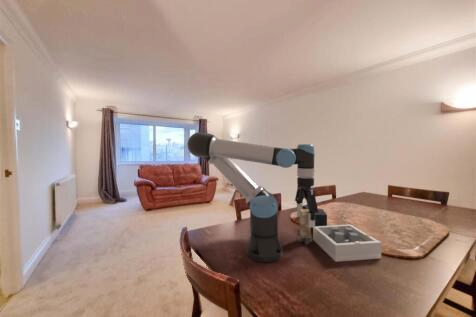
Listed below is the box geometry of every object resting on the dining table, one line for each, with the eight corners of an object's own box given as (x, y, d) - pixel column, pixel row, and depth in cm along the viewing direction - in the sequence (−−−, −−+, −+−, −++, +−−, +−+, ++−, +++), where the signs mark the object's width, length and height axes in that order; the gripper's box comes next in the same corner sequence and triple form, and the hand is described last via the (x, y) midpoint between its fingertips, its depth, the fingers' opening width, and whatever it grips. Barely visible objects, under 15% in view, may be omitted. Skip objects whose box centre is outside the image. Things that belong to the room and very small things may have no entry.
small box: (327, 235, 102) (327, 214, 101) (314, 234, 103) (314, 214, 103) (323, 227, 112) (323, 208, 112) (311, 226, 114) (311, 208, 113)
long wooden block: (300, 244, 93) (300, 212, 92) (297, 238, 99) (296, 208, 98) (313, 243, 93) (313, 212, 92) (309, 238, 99) (309, 208, 98)
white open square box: (335, 261, 78) (335, 244, 78) (313, 239, 97) (313, 225, 97) (381, 258, 80) (381, 241, 79) (350, 237, 99) (350, 223, 98)
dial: (369, 251, 81) (370, 238, 80) (332, 249, 83) (332, 236, 83) (357, 237, 93) (357, 226, 93) (324, 235, 96) (324, 224, 96)
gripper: (327, 181, 82) (326, 231, 83) (302, 173, 107) (302, 212, 108) (309, 181, 82) (309, 232, 83) (288, 173, 106) (288, 213, 108)
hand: (305, 221), depth 95 cm, fingers open, 13 cm apart
